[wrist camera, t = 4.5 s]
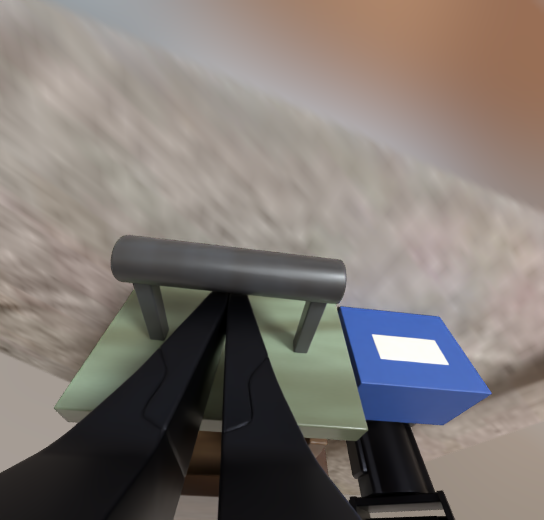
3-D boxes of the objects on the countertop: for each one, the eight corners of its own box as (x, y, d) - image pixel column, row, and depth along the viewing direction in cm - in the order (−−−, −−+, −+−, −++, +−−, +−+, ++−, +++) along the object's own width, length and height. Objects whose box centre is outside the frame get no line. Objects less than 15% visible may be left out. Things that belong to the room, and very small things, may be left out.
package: (439, 316, 16) (493, 393, 12) (408, 352, 19) (442, 425, 15) (340, 305, 16) (361, 382, 12) (322, 344, 18) (334, 417, 14)
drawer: (125, 185, 10) (-54, 309, 5) (362, 216, 11) (449, 356, 5) (175, 385, 21) (140, 491, 16) (290, 394, 22) (295, 498, 16)
